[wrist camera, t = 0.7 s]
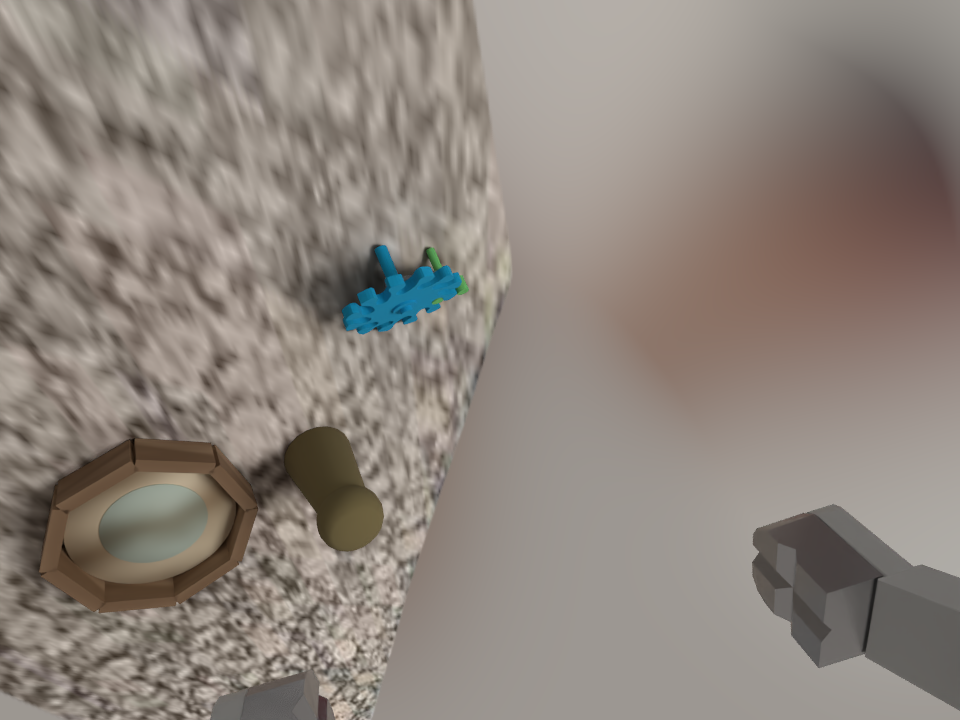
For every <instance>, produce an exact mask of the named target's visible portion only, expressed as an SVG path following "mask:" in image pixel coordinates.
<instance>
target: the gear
mask: <svg viewBox="0 0 960 720" xmlns="http://www.w3.org/2000/svg"><path fill="white" fill-rule="evenodd" d="M426 252H427V255H428V257H429V259H430V262H431V264H432V266H433V269H434V271H432V269H431V267H427V266H426V267H419V268H418V269H416V270H415V272H414V274H413V275H407V276H402V275H401V274H398V273H397V271H396V268H395V266H394V263H393V261H392V259H391V256H390V254H389V251H388V249H387V247H386V246H385V245H382V246H379V247H377V248H376V249H375V253H376V255H377V258H378V260H379V263H380V265H381V267H382V270H383V272H384V275H385V277H386V279H385V287H386V289H385V290H384V291H383V292H382V293H380V294H378V295H376V293H375V290H374V288H368V289H366V290H364V291H362V292H360V293H358V294H357V296H358V299H359V301H360V304H361V306H359V305H358V304H357V303H350V304H348V305H347V306H345V307H344V308H343V309H342V313H343V316H344V318H343V323H344V325H345V328H346V330H347V331H350V330H353V329H355V328H356V329H357V332H358V333H359V334H365V333H368V332H369V331H371V330H372V329H373V328H375V327H377V329H378V331H379V332H381V331H388V330H390V329H391V328H392V327H393V325H394V324H395V323H396V322H398V321H399V320H401V319H402V322H403V324H408V323H411V322H414V321H416V320H417V316H416V314H417V313H418V312H419V311H420V310H421V309H423V308H425V309H426V312H427V313H431V312H433V311H435V310H437V309H439V308H440V304H439V303H440V302H442V301H443V300H449V299H451V298H453V297H454V296H455V295H456V294H458V295H461V294H464V293H466V292H467V291H468V290H469V289H468V287H467V284H466V282H465V280H464V278H463V276H462V275H460V276H459V273H458V272H456V273H453V274H452V271H451V269H450V267H449V266H447V265H446V266H443V267H442V266H441V263H440V261H439V259H438V256H437V254H436V252H435V250H434V248H429V249H427V250H426Z"/></svg>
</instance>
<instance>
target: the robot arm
mask: <svg viewBox="0 0 960 720" xmlns="http://www.w3.org/2000/svg"><path fill="white" fill-rule="evenodd" d="M753 545H754V546H755V548H756V549H757V550H758V551H759V553H758V555H757V556H756V558H755V559H754V561H753V562H752V568H753V569H752V570H753V578H754V581H755V584H756V587H757V590H758V592H759V594H760V595H761V597H762V599H763V600H764V602H765V603H766V605H767V606H768V607H769V608H770V610H771V611H772V612H773V613H774V614H775V615H777V616H779V617H782V618H784V619H786V620H788V621H790V622H791V635H792V636H793V638H794V639H795V640H796V641H797V643H798V644H799V645H800V646H801V647H802V649H803V650H804V651H805V652H806V653H807V655H808V656H809V657H810V658H811V659H812V661H813V662H814V663H815V664H816V666H817V667H818V668H820V667H824V666H827V665H830V664H833V663H837V662H840V661H843V660H847V659H849V658H853V657H856V656H859V655H862V654H865V657H866V658H868V659H870V660H872V661H873V662H875V663H877V664H879V665H881V666H882V667H884V668H886V669H888V670H889V671H891V672H893V673H895V674H896V675H898V676H900V677H901V678H903V679H905V680H907V681H909V682H910V683H912V684H914V685H916V686H917V687H919V688H921V689H923V690H924V691H926V692H928V693H930V694H931V695H933V696H935V697H937V698H939V699H940V700H942V701H944V702H945V703H947V704H949V705H951V706H953V707H954V708H956V709H958V710H959V711H960V578H959V577H956V576H953V575H950V574H947V573H944V572H942V571H939V570H936V569H933V568H930V567H927V566H924V565H918V566H915V567H913V566H912V565H911V564H910V563H908V562H907V561H906V560H905V559H904V558H902V557H901V556H900V555H899V554H897V553H896V552H895V551H894V550H893V549H891V548H890V547H889V546H888V545H887V544H885V543H884V542H883V541H882V540H880V539H879V538H878V537H877V536H876V535H874V534H873V533H872V532H871V531H870V530H868V529H867V528H866V527H865V526H863V525H862V524H861V523H860V522H859V521H857V520H856V519H855V518H854V517H853V516H851V515H850V514H849V513H848V512H846V511H845V510H844V509H843V508H841V507H839V506H837V505H834V504H832V505H830V506H826V507H823V508H820V509H817V510H813V511H810V512H807V513H802V514H799V515H796V516H793V517H790V518H787V519H784V520H781V521H778V522H775V523H772V524H769V525H766V526H763V527H760V528H757V529H756V531H755V532H754V534H753ZM210 720H335V717H334V713H333V710H332V707H331V705H330V703H329V701H328V699H327V698H325V697H322V696H320V695H319V681H318V679H317V677H316V676H315V674H314V672H313V670H310V671H306V672H302V673H299V674H295V675H292V676H288V677H285V678H281V679H278V680H274V681H271V682H267V683H264V684H260V685H257V686H253V687H250V688H247V689H244V690H240V691H237V692H234V693H230V694H227V695H224V696H220V697H219V698H218V700H217V702H216V704H215V705H214V707H213V710H212V714H211V718H210Z"/></svg>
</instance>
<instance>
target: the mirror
mask: <svg viewBox="0 0 960 720" xmlns="http://www.w3.org/2000/svg"><path fill="white" fill-rule="evenodd" d="M257 511H258V507H257V503H256V500H255V497H254V494H253V490H252V487H251V485H250V484H249V482H248V481H247V480H246V479H245V478H244V477H243V476H242V475H241V473H240V472H239V471H238V470H237V469H236V468H235V467H234V466H233V464H232V463H231V462H230V461H229V460H228V459H227V458H226V457H225V456H224V454H223V453H222V452H221V451H220V450H219V449H218V448H217V447H216V445H213V446H212V445H211V443H205V442H189V441H172V440H155V439H139V438H135V439H134V444H133V443H132V442H131V441H130V440H128V441H126V442H124V443H123V444H121V445H119V446H117V447H116V448H114V449H112V450H111V451H109V452H107V453H105V454H104V455H102V456H100V457H99V458H97V459H95V460H94V461H92V462H90V463H88V464H87V465H85V466H83V467H82V468H80V469H78V470H76V471H75V472H73V473H71V474H70V475H68V476H66V477H64V478H63V479H61V480H59V481H58V485H55V488H54V493H53V498H52V503H51V508H50V512H49V517H48V522H47V527H46V532H45V537H44V542H43V547H42V555H41V562H40V570H39V573H41V577H43V578H44V579H46V580H47V581H49V582H50V583H51V584H53V585H54V586H56V587H57V588H59V589H60V590H62V591H63V592H65V593H66V594H68V595H69V596H71V597H72V598H74V599H75V600H77V601H78V602H80V603H81V604H83V605H84V606H86V607H87V608H89V609H90V610H91V611H93V612H95V611H96V610H98V609H99V613H105V612H116V611H126V610H137V609H148V608H158V607H169V606H175V605H176V602H178V603H179V604H181V603H182V602H184V601H185V600H187V599H188V598H190V597H191V596H193V595H194V594H196V593H197V592H199V591H200V590H202V589H203V588H205V587H206V586H208V585H209V584H211V583H212V582H214V581H215V580H217V579H218V578H220V577H221V576H223V575H224V574H226V573H227V572H229V571H230V570H232V569H233V568H235V567H236V566H237V565H239V563H238V561H242V559H243V556H244V553H245V549H246V546H247V543H248V540H249V537H250V533H251V530H252V527H253V524H254V521H255V518H256V514H257ZM63 538H64V544H65V546H64V545H63V544H62V543H63Z"/></svg>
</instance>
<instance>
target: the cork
mask: <svg viewBox="0 0 960 720" xmlns="http://www.w3.org/2000/svg"><path fill="white" fill-rule="evenodd" d="M284 464H285V468H286V471H287V473H288V474H289V475H290V477H291V478H292V480H293V481H294V482H295V484H296V485H297V486H298V488H299V489H300V491H301V492H302V493H303V495H304V496H305V497H306V499H307V500H308V502H309V503H310V504H311V506H312V507H313V508H314V510H315V511H316V513H317V528H318V532H319V534H320V537H321V538H322V539H323V541H324V542H325V543H326V544H327V545H328V546H329V547H331V548H333V549H336V550H339V551H347V552H348V551H353V550H357V549H359V548H362V547H364V546H365V545H367V544H368V543H370V542H371V541H372V540H373V539H374V538H375V537H376V536H377V535H378V533H379V531H380V529H381V527H382V523H383V518H384V514H383V508H382V504H381V502H380V501H379V499H378V498H377V496H376V495H375V493H373V492H372V491H371V490H369V489H367V488H366V487H365V486H364V483H363V480H362V477H361V474H360V472H359V469H358V466H357V463H356V460H355V457H354V454H353V452H352V449H351V446H350V443H349V440H348V439H347V437H346V436H345V434H344V433H342V432H341V431H339V430H338V429H335V428H331V427H316V428H313V429H310V430H307V431H305V432H304V433H302V434H301V435H299V436H297V437H296V439H295V440H294V441H293V442H292V443H291V444H290V445H289V447H288V449H287V451H286V453H285V459H284Z"/></svg>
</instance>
